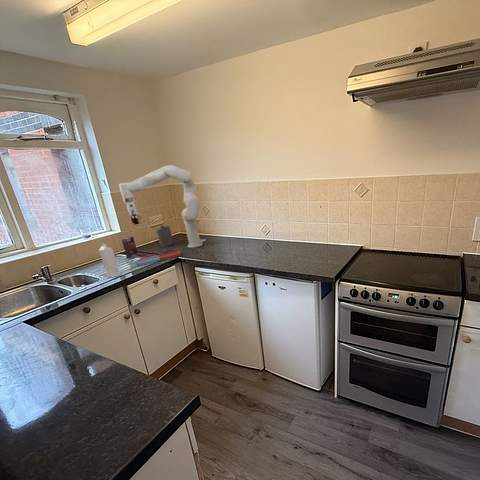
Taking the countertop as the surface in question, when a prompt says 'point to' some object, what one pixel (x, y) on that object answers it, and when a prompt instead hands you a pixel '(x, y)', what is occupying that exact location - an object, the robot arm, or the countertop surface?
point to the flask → (164, 236)
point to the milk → (109, 261)
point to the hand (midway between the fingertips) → (135, 223)
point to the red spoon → (147, 256)
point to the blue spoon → (165, 252)
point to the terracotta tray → (169, 255)
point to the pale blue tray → (148, 260)
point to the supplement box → (130, 247)
